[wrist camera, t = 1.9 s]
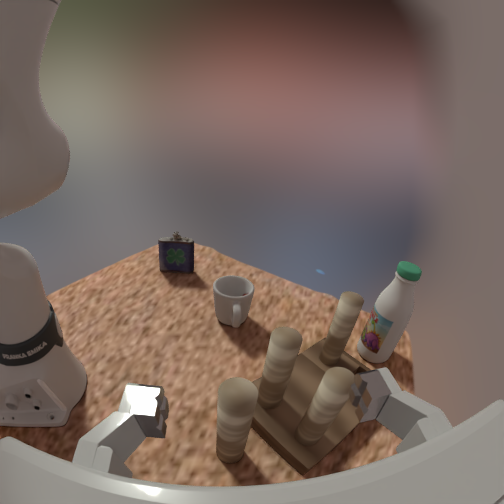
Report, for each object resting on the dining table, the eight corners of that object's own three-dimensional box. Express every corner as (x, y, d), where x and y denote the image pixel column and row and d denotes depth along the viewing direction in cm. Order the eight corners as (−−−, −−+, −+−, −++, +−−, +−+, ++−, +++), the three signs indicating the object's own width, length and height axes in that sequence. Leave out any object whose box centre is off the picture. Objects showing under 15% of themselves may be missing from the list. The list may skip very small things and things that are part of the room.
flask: (158, 271, 68) (157, 233, 64) (161, 266, 71) (159, 229, 66) (193, 274, 70) (194, 235, 65) (194, 268, 72) (195, 231, 68)
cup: (256, 339, 51) (261, 306, 47) (214, 340, 49) (215, 307, 46) (246, 305, 60) (250, 275, 57) (211, 306, 59) (212, 274, 55)
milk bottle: (384, 340, 52) (419, 259, 44) (392, 365, 46) (436, 280, 37) (353, 337, 53) (385, 253, 44) (359, 363, 46) (399, 274, 37)
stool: (302, 475, 26) (348, 424, 19) (230, 403, 37) (238, 329, 30) (384, 394, 39) (427, 327, 32) (321, 348, 50) (345, 279, 43)
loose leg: (226, 467, 27) (233, 415, 20) (211, 448, 29) (210, 387, 22) (248, 455, 29) (266, 396, 22) (232, 437, 31) (242, 371, 24)
